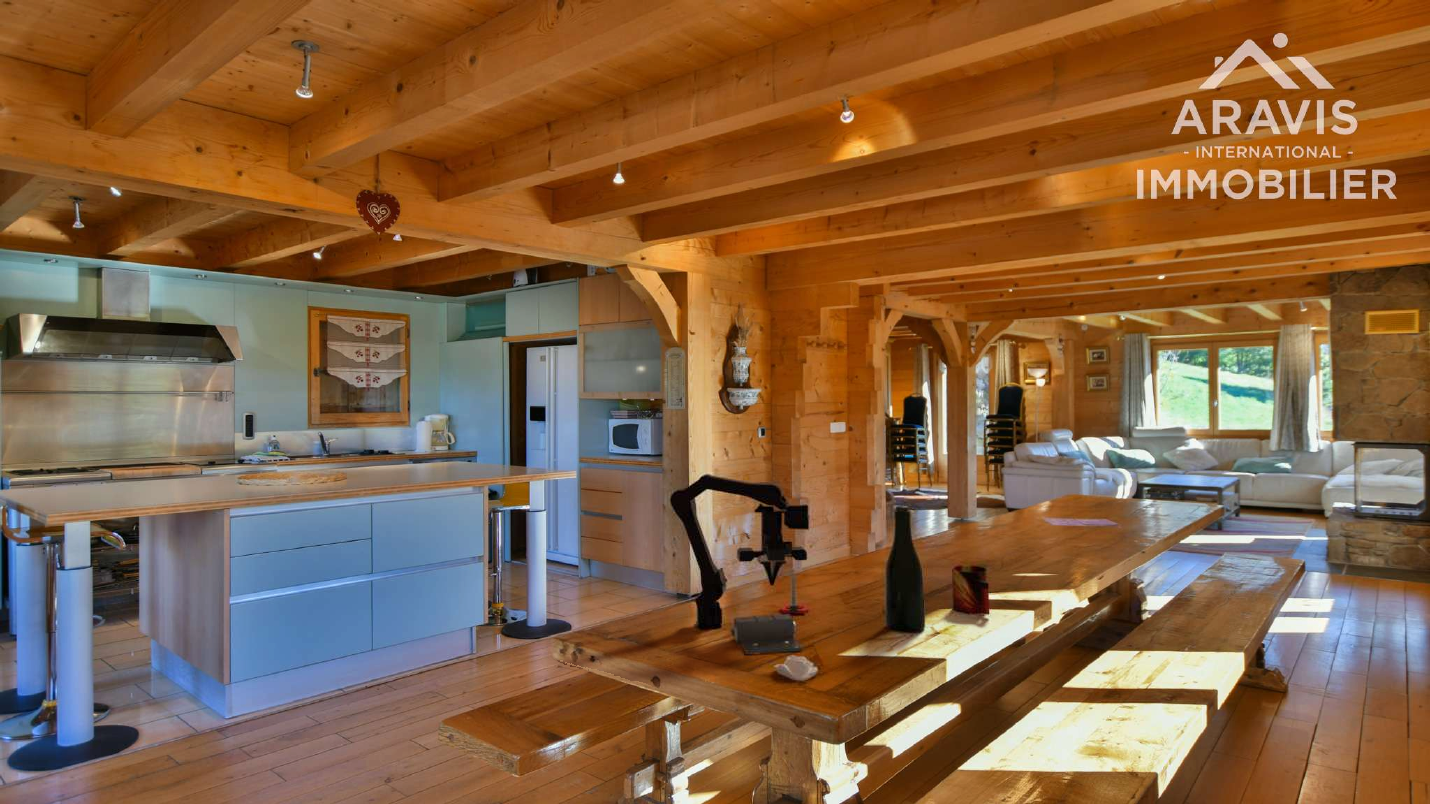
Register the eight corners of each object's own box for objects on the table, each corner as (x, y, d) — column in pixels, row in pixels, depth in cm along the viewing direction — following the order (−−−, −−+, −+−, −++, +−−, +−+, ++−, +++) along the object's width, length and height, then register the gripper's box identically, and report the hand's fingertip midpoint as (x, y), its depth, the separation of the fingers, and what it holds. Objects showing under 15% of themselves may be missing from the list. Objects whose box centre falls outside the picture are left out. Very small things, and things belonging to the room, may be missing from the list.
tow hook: (781, 608, 241) (779, 614, 232) (780, 565, 242) (778, 570, 232) (809, 608, 240) (808, 615, 230) (808, 565, 240) (807, 570, 231)
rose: (770, 661, 178) (777, 647, 188) (770, 680, 178) (777, 666, 188) (814, 663, 176) (819, 649, 185) (815, 683, 176) (820, 668, 185)
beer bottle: (926, 623, 219) (923, 504, 219) (924, 634, 209) (921, 509, 209) (887, 621, 222) (884, 503, 222) (883, 632, 212) (880, 508, 212)
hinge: (743, 655, 196) (742, 631, 196) (729, 629, 218) (728, 608, 218) (801, 651, 198) (801, 627, 198) (782, 625, 220) (781, 605, 220)
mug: (987, 619, 222) (986, 576, 222) (946, 609, 233) (945, 568, 233) (1007, 612, 228) (1006, 571, 228) (966, 604, 239) (965, 564, 239)
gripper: (742, 534, 210) (742, 593, 210) (811, 533, 212) (811, 591, 212) (736, 527, 221) (736, 583, 221) (802, 526, 223) (802, 581, 223)
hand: (771, 585), depth 219 cm, fingers closed
